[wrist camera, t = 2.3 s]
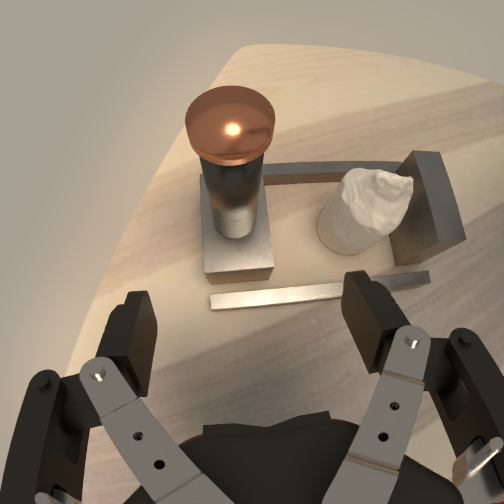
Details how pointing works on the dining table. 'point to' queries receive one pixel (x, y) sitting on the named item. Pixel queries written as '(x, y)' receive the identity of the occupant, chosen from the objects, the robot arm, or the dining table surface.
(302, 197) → the dining table surface
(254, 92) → the handle
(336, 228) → the white tapered sculpture
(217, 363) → the dining table surface
